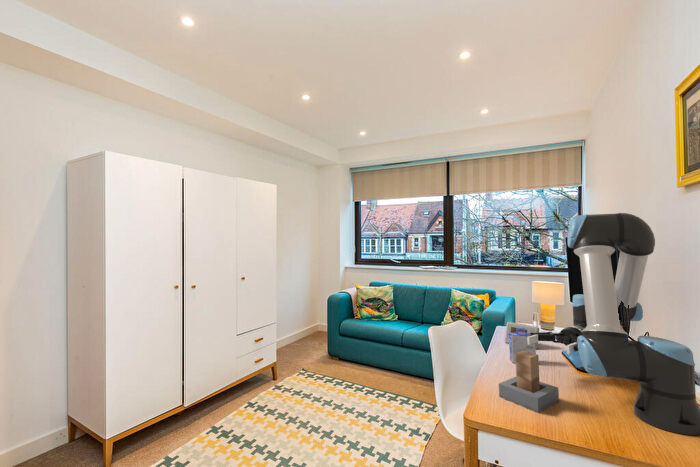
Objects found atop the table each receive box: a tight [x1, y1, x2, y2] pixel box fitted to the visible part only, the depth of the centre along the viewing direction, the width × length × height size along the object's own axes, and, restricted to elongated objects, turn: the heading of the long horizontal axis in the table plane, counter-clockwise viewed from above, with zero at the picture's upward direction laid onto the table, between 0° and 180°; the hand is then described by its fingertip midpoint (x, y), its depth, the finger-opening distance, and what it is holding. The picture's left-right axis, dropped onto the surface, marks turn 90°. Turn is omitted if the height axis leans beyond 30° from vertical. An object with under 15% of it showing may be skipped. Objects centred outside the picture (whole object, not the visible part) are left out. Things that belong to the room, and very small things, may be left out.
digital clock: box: [504, 321, 540, 350], centre depth 166 cm, size 16×9×11 cm, turn 27°
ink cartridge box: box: [508, 328, 537, 364], centre depth 143 cm, size 10×6×14 cm, turn 78°
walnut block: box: [515, 351, 540, 393], centre depth 109 cm, size 5×5×14 cm
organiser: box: [498, 376, 560, 414], centre depth 109 cm, size 13×13×4 cm
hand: (547, 345), depth 117 cm, fingers open, 13 cm apart
